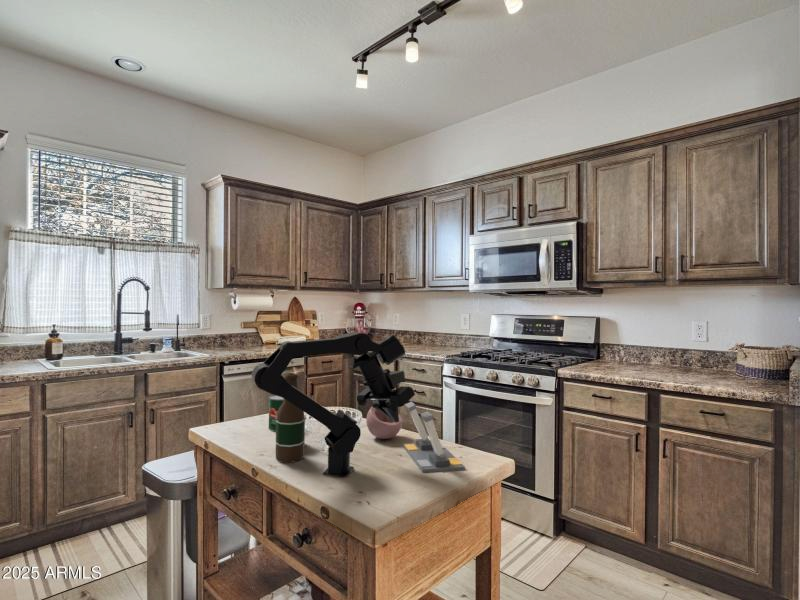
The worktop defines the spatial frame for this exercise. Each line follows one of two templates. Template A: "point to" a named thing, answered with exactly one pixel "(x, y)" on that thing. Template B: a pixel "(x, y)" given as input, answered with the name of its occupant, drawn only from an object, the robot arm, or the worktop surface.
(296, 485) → the worktop surface
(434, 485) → the worktop surface
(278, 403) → the canned tomato
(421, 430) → the lever rear
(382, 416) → the mortar and pestle
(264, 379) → the robot arm
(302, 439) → the beer bottle
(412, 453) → the switch base
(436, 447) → the lever front
